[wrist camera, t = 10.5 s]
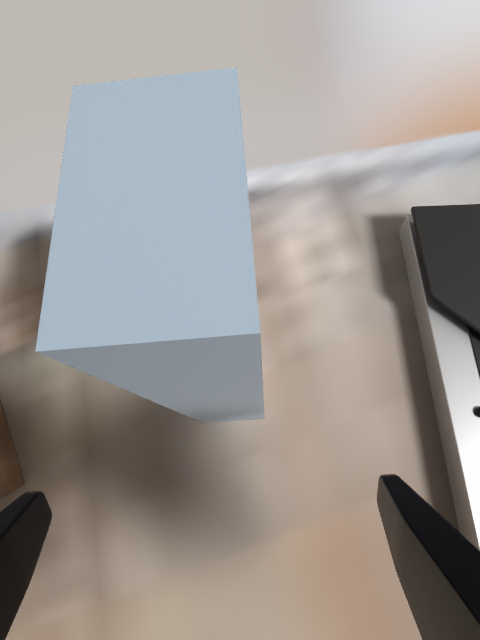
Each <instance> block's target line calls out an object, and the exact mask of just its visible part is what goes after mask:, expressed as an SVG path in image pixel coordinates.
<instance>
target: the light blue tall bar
mask: <svg viewBox="0 0 480 640" xmlns="http://www.w3.org/2000/svg"><path fill="white" fill-rule="evenodd" d="M35 352H38V353H40V354H42V355H45V356H47V357H49V358H52V359H54V360H56V361H59V362H61V363H63V364H66V365H68V366H70V367H73V368H75V369H77V370H80V371H82V372H85V373H87V374H89V375H92V376H94V377H96V378H99V379H101V380H103V381H106V382H108V383H110V384H113V385H115V386H117V387H120V388H122V389H124V390H127V391H129V392H132V393H134V394H136V395H139V396H141V397H143V398H146V399H148V400H150V401H153V402H155V403H157V404H160V405H162V406H164V407H167V408H169V409H171V410H174V411H176V412H179V413H181V414H183V415H186V416H188V417H190V418H193V419H195V420H197V421H200V422H202V423H210V422H224V421H238V420H252V419H264V400H263V380H262V359H261V338H260V325H259V313H258V302H257V290H256V279H255V267H254V256H253V245H252V233H251V222H250V210H249V199H248V187H247V176H246V164H245V155H244V142H243V131H242V119H241V107H240V97H239V84H238V73H237V67H235V68H226V69H217V70H209V71H200V72H191V73H182V74H173V75H165V76H156V77H147V78H138V79H129V80H121V81H111V82H102V83H94V84H85V85H76V86H73V88H72V96H71V103H70V110H69V117H68V124H67V131H66V138H65V145H64V152H63V159H62V166H61V174H60V180H59V188H58V195H57V202H56V209H55V216H54V223H53V230H52V237H51V244H50V251H49V258H48V265H47V272H46V280H45V287H44V294H43V301H42V308H41V315H40V322H39V329H38V336H37V343H36V350H35Z"/></svg>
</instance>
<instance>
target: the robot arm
mask: <svg viewBox="0 0 480 640" xmlns="http://www.w3.org/2000/svg"><path fill="white" fill-rule="evenodd" d="M377 503H378V508H379V512H380V515H381V519H382V522H383V526H384V530H385V533H386V537H387V540H388V544H389V548H390V551H391V555H392V558H393V562H394V565H395V569H396V572H397V574H398V577H399V580H400V583H401V585H402V588H403V591H404V593H405V596H406V598H407V601H408V603H409V606H410V609H411V611H412V614H413V616H414V619H415V622H416V624H417V627H418V629H419V632H420V634H421V637H422V640H480V551H479V550H478V549H477V548H476V547H475V546H474V545H473V544H472V543H471V542H470V541H468V540H467V539H466V538H465V537H464V536H463V535H462V534H461V533H460V532H459V531H458V530H456V529H455V528H454V527H453V526H452V525H451V524H450V523H449V522H448V521H447V520H446V519H444V518H443V517H442V516H441V515H440V514H439V513H438V512H437V511H436V510H435V509H434V508H432V507H431V506H430V505H429V504H428V503H427V502H426V501H425V500H424V499H423V498H422V497H420V496H419V495H418V494H417V493H416V492H415V491H414V490H413V489H412V488H411V487H410V486H408V485H407V484H406V483H405V482H404V481H403V480H402V479H401V478H400V477H399V476H397V475H395V474H388V475H381V476H380V477H379V482H378V492H377ZM51 518H52V512H51V509H50V507H49V504H48V502H47V499H46V497H45V495H44V493H43V492H41V491H31V492H26V493H24V494H23V495H21V496H20V497H19V498H18V499H16V500H15V501H14V502H12V503H11V504H10V505H9V506H7V507H6V508H5V509H4V510H2V511H1V512H0V640H5V639H6V637H7V634H8V632H9V630H10V628H11V625H12V623H13V621H14V618H15V616H16V614H17V612H18V609H19V607H20V605H21V602H22V600H23V598H24V596H25V593H26V591H27V588H28V586H29V584H30V581H31V578H32V576H33V573H34V570H35V567H36V564H37V561H38V558H39V555H40V552H41V549H42V546H43V543H44V540H45V537H46V535H47V532H48V529H49V526H50V523H51Z"/></svg>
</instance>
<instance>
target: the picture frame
mask: <svg viewBox="0 0 480 640" xmlns="http://www.w3.org/2000/svg"><path fill="white" fill-rule="evenodd" d="M411 212H412V216H407V217H406V218H405V220H404V222H403V223H402V225H401V227H400V228H399V235H400V240H401V245H402V250H403V255H404V260H405V265H406V270H407V274H408V279H409V284H410V289H411V294H412V299H413V304H414V309H415V314H416V319H417V324H418V329H419V334H420V339H421V344H422V349H423V354H424V359H425V364H426V369H427V373H428V378H429V383H430V388H431V393H432V398H433V403H434V408H435V413H436V418H437V423H438V428H439V433H440V438H441V443H442V448H443V453H444V458H445V463H446V468H447V472H448V477H449V482H450V487H451V492H452V497H453V502H454V507H455V512H456V517H457V522H458V527H459V532H460V533H461V534H462V535H463V536H464V537H465V538H466V539H467V540H468V541H470V542H471V543H472V544H473V545H474V546H475V547H476V548H477V549H478V550H479V551H480V204H473V205H446V206H419V207H412V208H411Z"/></svg>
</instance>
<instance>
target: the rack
mask: <svg viewBox="0 0 480 640" xmlns="http://www.w3.org/2000/svg"><path fill="white" fill-rule="evenodd" d="M22 485H24V481H23V477H22V474H21V470H20V467H19V463H18V460H17V456H16V453H15V449H14V446H13V442H12V439H11V435H10V432H9V429H8V425H7V422H6V418H5V415H4V411H3V408H2V404H1V401H0V498H1V497H2V496H4V495H6V494H8V493H10V492H11V491H13V490H15V489H17V488H19V487H20V486H22Z"/></svg>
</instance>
